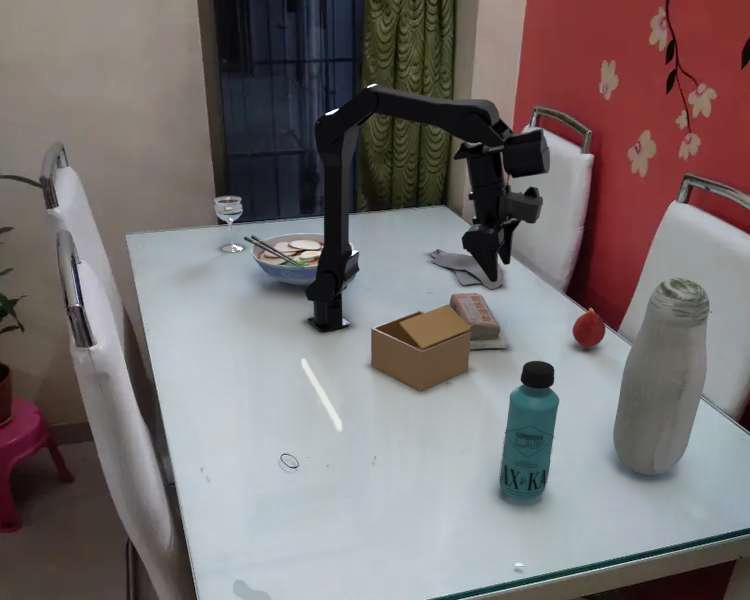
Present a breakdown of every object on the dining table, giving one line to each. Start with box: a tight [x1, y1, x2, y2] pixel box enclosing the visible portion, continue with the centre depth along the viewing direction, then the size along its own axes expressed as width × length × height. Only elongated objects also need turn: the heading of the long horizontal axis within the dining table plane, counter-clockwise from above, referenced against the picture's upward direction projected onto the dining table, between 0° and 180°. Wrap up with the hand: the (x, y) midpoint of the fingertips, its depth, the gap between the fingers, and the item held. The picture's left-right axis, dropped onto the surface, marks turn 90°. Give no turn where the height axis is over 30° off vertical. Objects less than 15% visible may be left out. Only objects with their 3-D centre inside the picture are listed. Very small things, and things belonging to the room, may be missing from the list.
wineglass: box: [213, 195, 244, 253], centre depth 192 cm, size 7×7×12 cm
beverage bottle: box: [498, 360, 560, 501], centre depth 103 cm, size 6×7×20 cm
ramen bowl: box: [243, 232, 354, 287], centre depth 174 cm, size 25×23×8 cm
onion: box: [572, 307, 606, 350], centre depth 145 cm, size 6×6×8 cm
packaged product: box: [448, 292, 509, 350], centre depth 152 cm, size 18×5×10 cm
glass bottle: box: [612, 277, 710, 476], centre depth 106 cm, size 10×10×28 cm
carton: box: [370, 310, 471, 392], centre depth 138 cm, size 13×12×7 cm
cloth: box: [429, 248, 503, 290], centre depth 182 cm, size 26×14×2 cm, turn 20°
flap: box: [399, 304, 471, 349], centre depth 133 cm, size 6×12×1 cm, turn 132°
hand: (500, 272), depth 138 cm, fingers open, 9 cm apart
